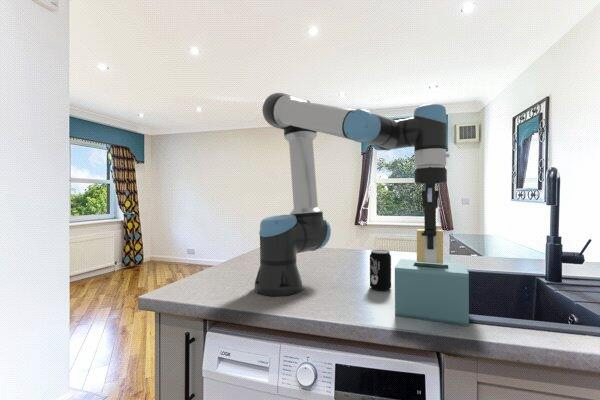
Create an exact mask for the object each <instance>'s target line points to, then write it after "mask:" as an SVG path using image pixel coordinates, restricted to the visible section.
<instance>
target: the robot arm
mask: <svg viewBox="0 0 600 400" xmlns="http://www.w3.org/2000/svg"><path fill="white" fill-rule="evenodd" d="M261 110H262V116H263V118H264V120H265V121H266V122H267V123H268V124H269V125H270V127H273V128H276V129H280V130H283V136H284V139H285V140H286V141H287V142H288V147H289V160H290V161H289V162H290V175H291V176H290V177H291V187H292V188H291V189H292V191H291V192H292V202H293V203H292V204H293V209H292V210H291V212H290V213H289V214H280V215H278V214H277V215H272V216H267V217H265V218H263V219H262V220H261V221H260V223H259V232H258V234H259V269H258V271H257V275H256V278H255V280H254V291H255V292H256V293H257V294H260V295H262V296H271V297H282V296H290V295H294V294H297V293H300V292H301V291H302V290H303V281H302V277H301V275H300V272H299V267H298V265H297V254H299V253H306V252H314V251H317V250H320V249H322V248H324V247H325V246H326V245H327V244H328V242H329V240H330V238H331V234H332V233H331V232H332V229H331V225H330V222H328V221H327V219H326V218H325V217H324V213H323V210H322V209H320V207H319V205H318V204H319V203H318V192H317V180H316V165H315V154H314V153H315V152H314V151H315V150H314V140H315V139H316V137H317V134H318V133H321V134H326V135H329V136H334V137H338V138H342V139H347V140H351V141H353V142H355V143H361V144H365V145H367V144H368V145H371V146H372V147H373V148H374V150H376V151H380V152H381V151H385V152H386V151H390V150H397V149H404V148H410V147H411V148H413V147H414V152H413V156H414V157H413V158H414V159H413V160H414V161H413V162H414V163H413V166H414V167H415V170H414V183H415V184H416V185H424V190H421V198H422V208H424V209H423V210H424V214H423V215H424V229H425V230H424V233H422V236H424V258H425V262H430V263H436V230H438V229H437V209H438V207H439V197H440V190H437V189H436V184H446V183H447V181H448V178H447V177H448V176H447V175H448V170H447V168H446V166H447V158H449V157H450V153H447V140H448V139H447V133H448V132H447V131H448V129H447V128H448V121H447V109H446V107H445V106H444V105H442V104H440V103H429V104H428V103H427V104H422V105H420V106H417V107H416V108H415V109H414V112H413V116H412V117H409V118H404V119H398V120H395V119H392V118H390V117H386V116H384V115H380V114H378V113H375V112H373V110H368V109H363V108H357V109H353V108H348V107H347V108H346V107H341V106H336V105H335V106H334V105H327V104H322V103H315V102H312V101H309V100H307V99H302V98H299V97H296V96H293V95H289V94H287V93H284V92H275V93H272V94H270V95H269V96H267V97H266V99H265V100H264V102H263V104H262V109H261Z"/></svg>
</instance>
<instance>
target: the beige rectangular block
mask: <svg viewBox="0 0 600 400" xmlns="http://www.w3.org/2000/svg"><path fill="white" fill-rule="evenodd" d="M424 230H425V228H423V229H422V228H421V229H419V228H417V230H416V260H417V262H424V263H430V262H425V258H424V236H422V233H424ZM443 262H444V230H443V229H436V263H437V264H443Z"/></svg>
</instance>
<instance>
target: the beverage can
mask: <svg viewBox="0 0 600 400" xmlns="http://www.w3.org/2000/svg"><path fill="white" fill-rule="evenodd" d="M370 252H371V253H370V254H369V287H370V288H371V289H372V290H373V291H377V292H386V291H390V289H391V288H392V255H391V254H390V251H389V250H386V249H372V250H371V251H370Z"/></svg>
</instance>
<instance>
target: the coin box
mask: <svg viewBox="0 0 600 400" xmlns="http://www.w3.org/2000/svg"><path fill="white" fill-rule="evenodd" d="M467 268H468V267H467V265H466V263H463V262H448V261H443V264H437V263H424V262H417V259H405V258H400V259H399V260H398V261H397V264H396V265H395V266H394V316H395V317H402V318H409V319H415V320H416V319H417V320H423V321H429V322H437V323H444V324H450V325H451V324H452V325H458V326H464V327H469V326H470V290H469V288H470V285H469V284H470V282H469V281H470V280H469V279H470V276H469V274H470V273H469V271H468V269H467Z"/></svg>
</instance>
